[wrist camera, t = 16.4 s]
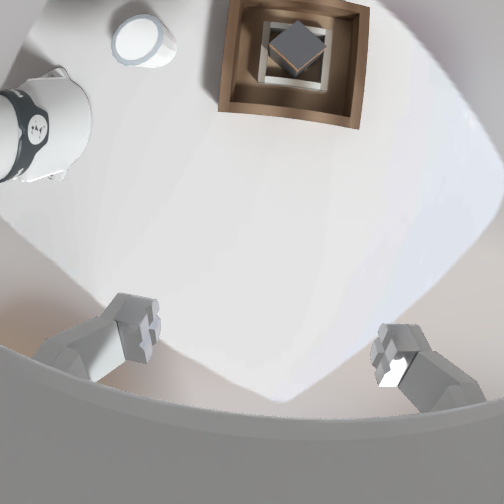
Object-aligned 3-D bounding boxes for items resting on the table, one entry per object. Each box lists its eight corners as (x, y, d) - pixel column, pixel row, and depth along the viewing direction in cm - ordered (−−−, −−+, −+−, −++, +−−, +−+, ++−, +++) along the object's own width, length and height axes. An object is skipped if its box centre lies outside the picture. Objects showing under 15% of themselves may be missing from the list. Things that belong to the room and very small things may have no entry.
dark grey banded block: (293, 79, 32) (298, 70, 25) (270, 57, 31) (269, 43, 24) (316, 60, 31) (327, 46, 24) (293, 38, 30) (298, 19, 23)
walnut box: (224, 112, 35) (217, 111, 31) (236, 2, 28) (231, -12, 24) (348, 127, 35) (359, 129, 31) (359, 18, 28) (369, 7, 24)
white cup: (128, 67, 33) (102, 61, 27) (145, 23, 30) (123, 11, 24) (170, 76, 34) (150, 70, 27) (189, 32, 31) (173, 17, 24)
